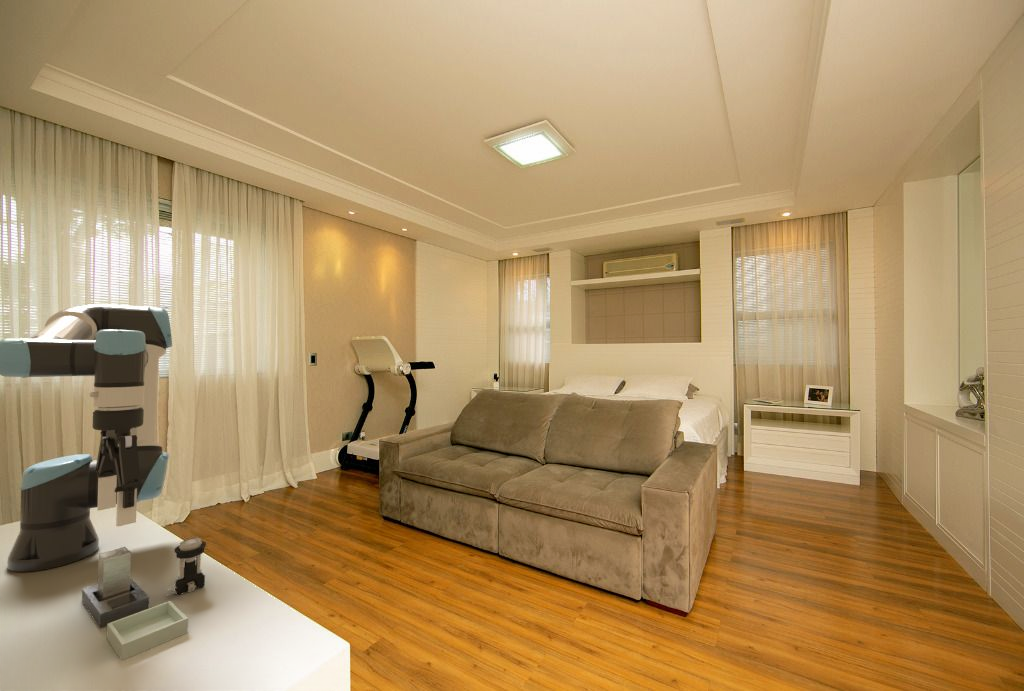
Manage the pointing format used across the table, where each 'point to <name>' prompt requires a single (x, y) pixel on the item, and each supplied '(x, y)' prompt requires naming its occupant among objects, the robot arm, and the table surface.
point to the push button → (189, 566)
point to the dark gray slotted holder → (114, 604)
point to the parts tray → (146, 629)
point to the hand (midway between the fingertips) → (116, 516)
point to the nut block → (113, 573)
